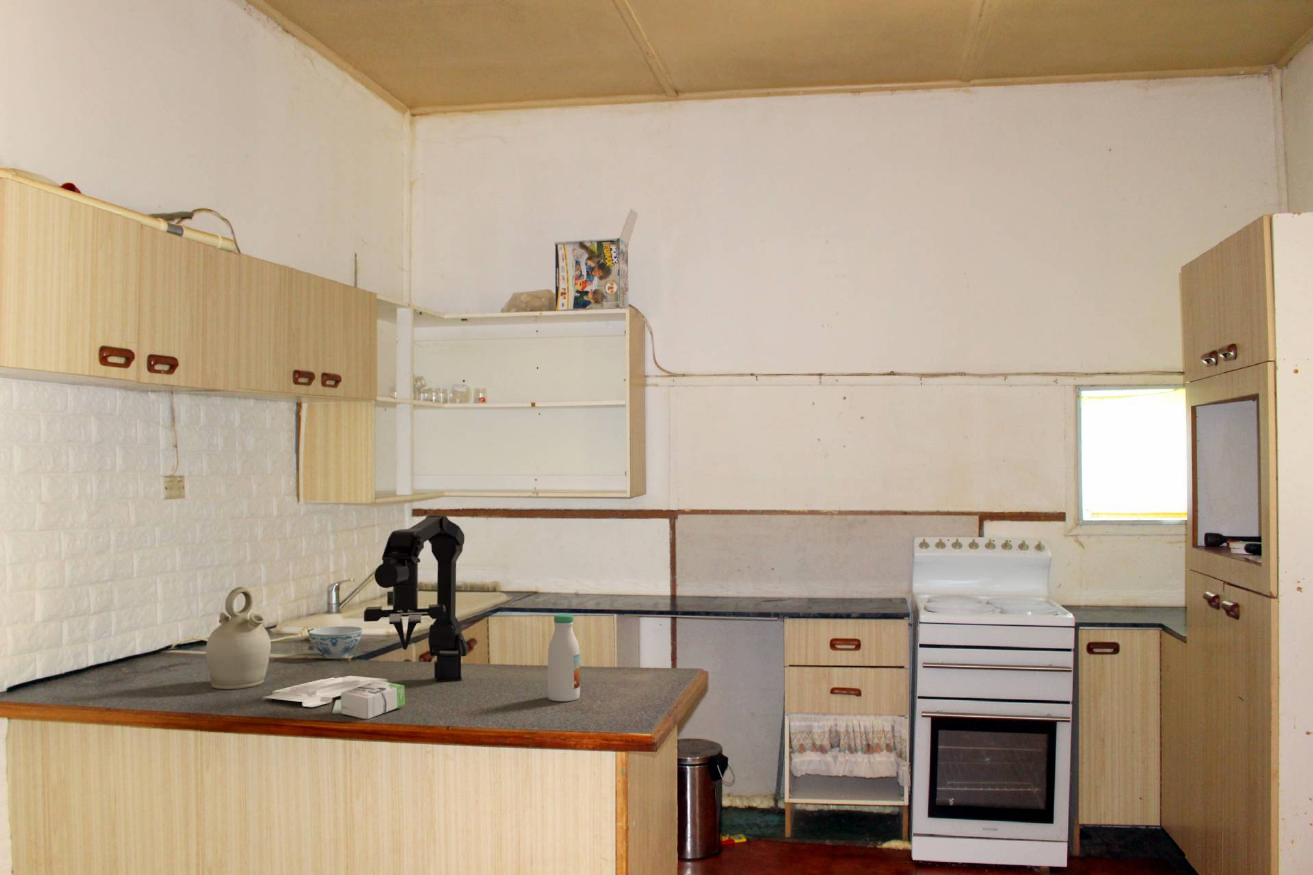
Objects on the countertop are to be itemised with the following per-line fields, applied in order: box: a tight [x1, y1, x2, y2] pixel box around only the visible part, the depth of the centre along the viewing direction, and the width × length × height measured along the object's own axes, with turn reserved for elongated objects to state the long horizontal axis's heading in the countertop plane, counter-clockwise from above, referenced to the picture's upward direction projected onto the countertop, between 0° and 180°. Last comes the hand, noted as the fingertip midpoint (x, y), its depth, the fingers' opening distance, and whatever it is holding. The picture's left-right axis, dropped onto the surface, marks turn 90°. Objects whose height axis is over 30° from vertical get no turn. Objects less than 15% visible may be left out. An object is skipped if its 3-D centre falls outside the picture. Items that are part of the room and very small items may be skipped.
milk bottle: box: [547, 613, 581, 702], centre depth 238 cm, size 8×8×20 cm
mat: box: [331, 699, 342, 715], centre depth 231 cm, size 12×12×1 cm
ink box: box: [340, 681, 406, 720], centre depth 225 cm, size 9×5×12 cm
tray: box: [261, 675, 389, 708], centre depth 245 cm, size 20×28×4 cm
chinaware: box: [309, 625, 363, 659], centre depth 293 cm, size 15×15×8 cm
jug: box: [205, 586, 272, 690], centre depth 256 cm, size 15×16×25 cm
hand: (405, 649), depth 234 cm, fingers closed
